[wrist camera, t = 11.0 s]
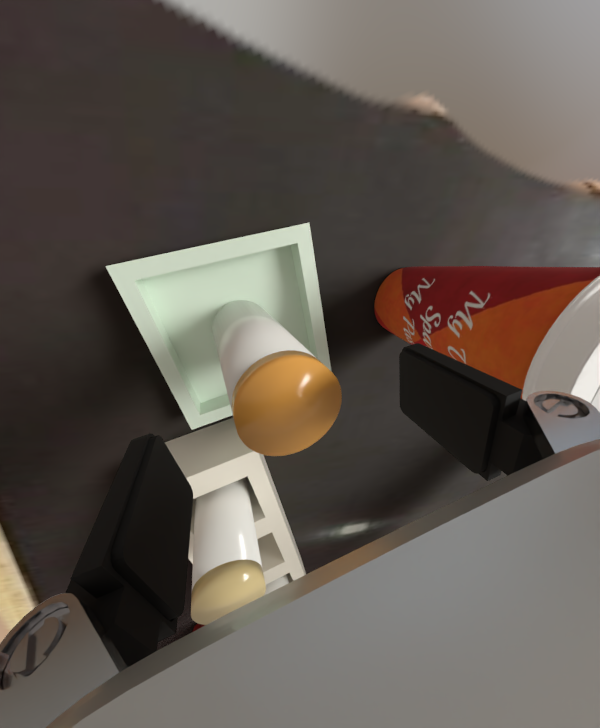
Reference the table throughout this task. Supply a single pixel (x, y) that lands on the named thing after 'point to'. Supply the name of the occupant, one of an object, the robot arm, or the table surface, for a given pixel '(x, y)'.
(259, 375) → the white and orange cylinder
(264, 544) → the holder
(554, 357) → the coffee cup
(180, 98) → the table surface
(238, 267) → the tray
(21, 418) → the table surface
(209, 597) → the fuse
